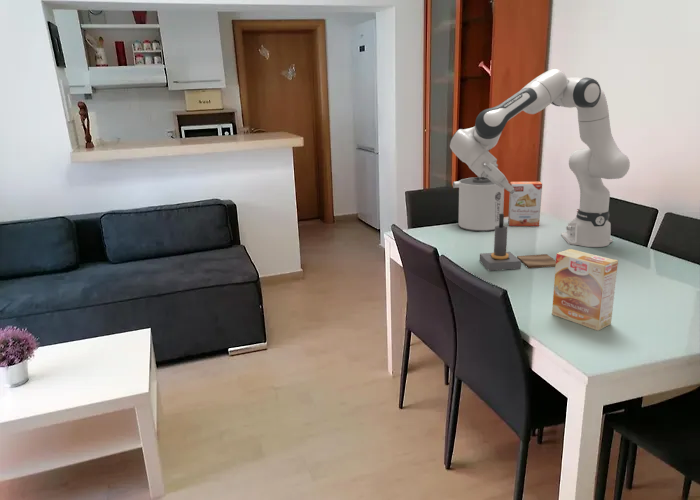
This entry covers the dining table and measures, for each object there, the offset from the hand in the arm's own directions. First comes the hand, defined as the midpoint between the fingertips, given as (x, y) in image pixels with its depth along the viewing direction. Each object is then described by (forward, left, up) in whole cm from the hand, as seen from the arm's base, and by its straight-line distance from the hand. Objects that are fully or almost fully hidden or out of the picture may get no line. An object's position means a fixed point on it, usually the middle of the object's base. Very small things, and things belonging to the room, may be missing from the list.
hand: (513, 191), depth 188 cm
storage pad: (-7, +14, -30) cm, 34 cm away
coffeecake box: (+44, +6, -30) cm, 54 cm away
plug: (-7, -1, -30) cm, 31 cm away
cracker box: (-61, +29, -30) cm, 74 cm away
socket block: (-7, -1, -30) cm, 31 cm away
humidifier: (-65, +7, -30) cm, 72 cm away
